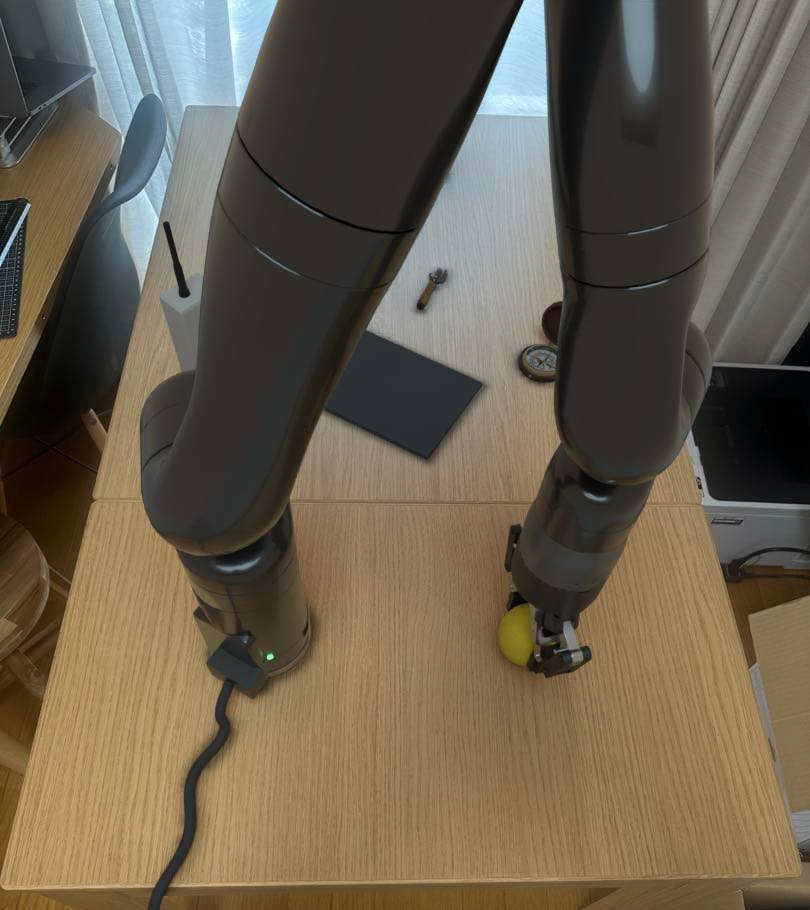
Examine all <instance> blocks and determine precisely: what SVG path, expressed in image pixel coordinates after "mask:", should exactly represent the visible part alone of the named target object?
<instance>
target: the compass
mask: <svg viewBox="0 0 810 910" xmlns="http://www.w3.org/2000/svg"><path fill="white" fill-rule="evenodd" d="M562 303H563V300H558V301H554V302H553V303H551V304H550V305H549V306H548V307H546V309H545V310H544V312H543V313H542V316H541V328H542V332H543V334H544V335H545V337H546V339H547V340H548V341H549V342H550V343H551V345H549V344H545V343H536V344H532V345H528V346H526V347H525V348H524V349H523V350H522V351H521V353H520V355H519V357H518V366H519V368H520V370H521V371H522V373H523V374H524V375H526V376H527V377H528V378H530V379H531V380H534V381H537V382H552V381H553V382H554V381H555V369H556V357H557V345H558V334H559V327H560V320H561V313H562Z"/></svg>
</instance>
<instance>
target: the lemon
mask: <svg viewBox="0 0 810 910" xmlns="http://www.w3.org/2000/svg"><path fill="white" fill-rule="evenodd" d="M530 626H531V614H530V612H529V603H524V604H520V605H518V606H516V607H514V608H513V609H511V610H510V611H509V612H508V611H507V613H505V615H504V617H503V618H502V619H501V622H500V624H499V626H498V632H497V641H498V645H499V648H500V650H501V653H502V654H503V655H504V657H506V659H508V661H510V662H511V663H514V665H515V664H516V665H517V666H523V667H527V665H526V664H527V662H528V660H529V657H530V655H531V653H532V651H533V650H534V646H535V642H534V640H533V638H532V637H531V635H530ZM542 628H543V627H542ZM552 644H555V642H552V643H548V644H546V646H547V645H552Z"/></svg>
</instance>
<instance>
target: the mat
mask: <svg viewBox="0 0 810 910" xmlns="http://www.w3.org/2000/svg"><path fill="white" fill-rule="evenodd" d="M482 387H483V382H482V381H480V380H478V379H475V378H473V377H471V376H468V375H467V374H464V373H462V372H459V371H458V370H456V369H453V368H451V367H449V366H446V365H445V364H442V363H439V362H437V361H435V360H433V359H431V358H430V357H429V358H428V357H427V356H424V355H422V354H420V353H417V352H415V351H413V350H411V349H409V348H406V347H404V346H402V345H400V344H398V343H395V342H393V341H391V340H389V339H388V338H387V339H386V338H385V337H382V336H379V335H377V334H376V333H373V332H371V331H369V330H367V329H366V331H365V333H364V335H363V337H362V339H361V341H360V343H359V345H358V347H357V348H356V350H355V352H354V355H353V356H352V358H351V360H350V362H349V364H348V366H347V368H346V370H345V372H344V374H343V376H342V377H341V379H340V381H339V383H338V385H337V387H336V388H335V390H334V392H333V394H332V395H331V397H330V399H329V401H328V403H327V405H326V407H325V409H324V410H323V411H325V412H328V413H330V414H332V415H334V416H336V417H337V418H340V419H342V420H344V421H346V422H349V424H350V423H351V424H353V425H355V426H357V427H359V428H360V429H363V430H365V431H367V432H369V433H371V434H373V435H375V436H378V437H379V438H381V439H383V440H385V441H388V442H389V443H391V444H393V445H395V446H397V447H400V448H402V449H404V450H406V451H408V452H410V453H412V454H414V455H417V456H418V457H420V458H422V459H424V460H426V461H428V460H429V458H430V457H431V456H432V455H433V453H434V451H435V450H436V449H437V448H438V447H439V445H440V444H441V442H442V441H443V440H444V439H445V437H446V436H447V434H448V433H449V432H450V430H451V429H452V427H453V426H454V424H456V422H457V420H458V419H459V418H460V416H461V415H462V413H463V412H464V411H465V409H466V408H467V407H468V405H469V404H470V403H471V401H472V400H473V399H474V397H475V396H476V395H477V393H478V392H479V391H480V389H481V388H482Z"/></svg>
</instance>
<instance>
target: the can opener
mask: <svg viewBox="0 0 810 910" xmlns="http://www.w3.org/2000/svg"><path fill="white" fill-rule="evenodd" d="M442 271H443V268H442V267H438V268H437V270H436V272H435V274H434V276H432V275H433V272H429V273H428V275H427V277H428V279H429V280H430V281H429V282H428V283H427V285H426V287H425V289H424V290H423V292H422V293H421V295H420V296H419V298H418V300H417V302H416V308H417V309H419V310H422V309H424V308H425V306H426V305H427V304H428V301H429V300H430V297H431V295H432V293H433V291H434V290H435V288H436V285H437V283H444V282H445V281H446V280H447V278H448V275H449V273H448V270H447V269H445V270H444V271H443V272H442Z"/></svg>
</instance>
